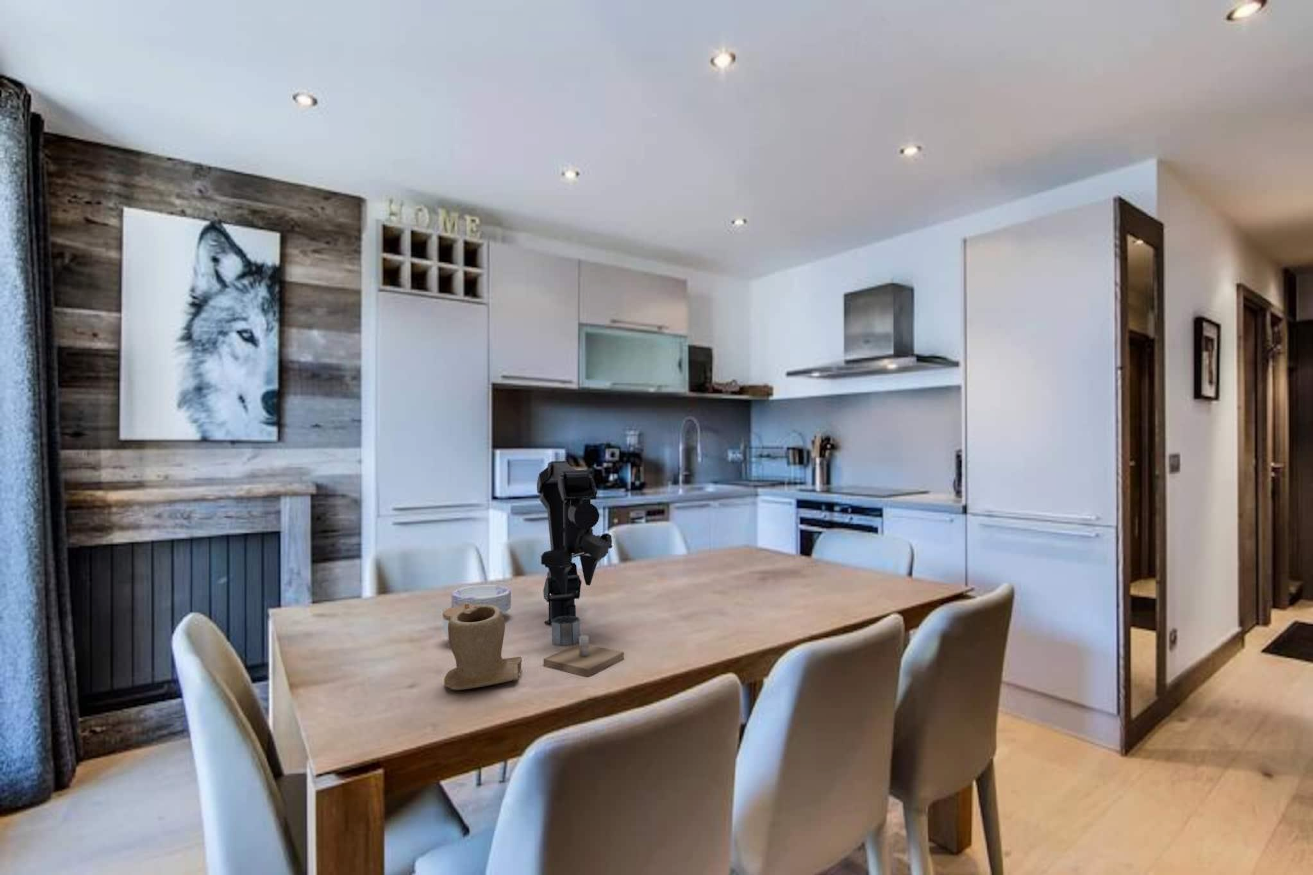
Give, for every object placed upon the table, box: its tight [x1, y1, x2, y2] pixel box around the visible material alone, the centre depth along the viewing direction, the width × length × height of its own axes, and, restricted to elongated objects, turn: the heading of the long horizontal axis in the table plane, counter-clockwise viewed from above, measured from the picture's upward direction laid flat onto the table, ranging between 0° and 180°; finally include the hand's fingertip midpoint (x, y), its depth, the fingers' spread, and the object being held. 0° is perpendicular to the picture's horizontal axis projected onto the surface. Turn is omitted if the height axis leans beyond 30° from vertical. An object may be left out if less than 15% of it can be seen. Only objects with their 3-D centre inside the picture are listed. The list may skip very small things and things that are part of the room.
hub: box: [551, 616, 581, 647], centre depth 147 cm, size 6×6×5 cm
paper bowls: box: [450, 584, 512, 615], centre depth 166 cm, size 15×15×8 cm
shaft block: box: [543, 634, 625, 678], centre depth 133 cm, size 12×12×6 cm
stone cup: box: [443, 605, 523, 691], centre depth 122 cm, size 15×12×15 cm
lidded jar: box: [442, 603, 477, 640], centre depth 147 cm, size 11×11×9 cm
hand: (576, 589), depth 148 cm, fingers open, 9 cm apart
